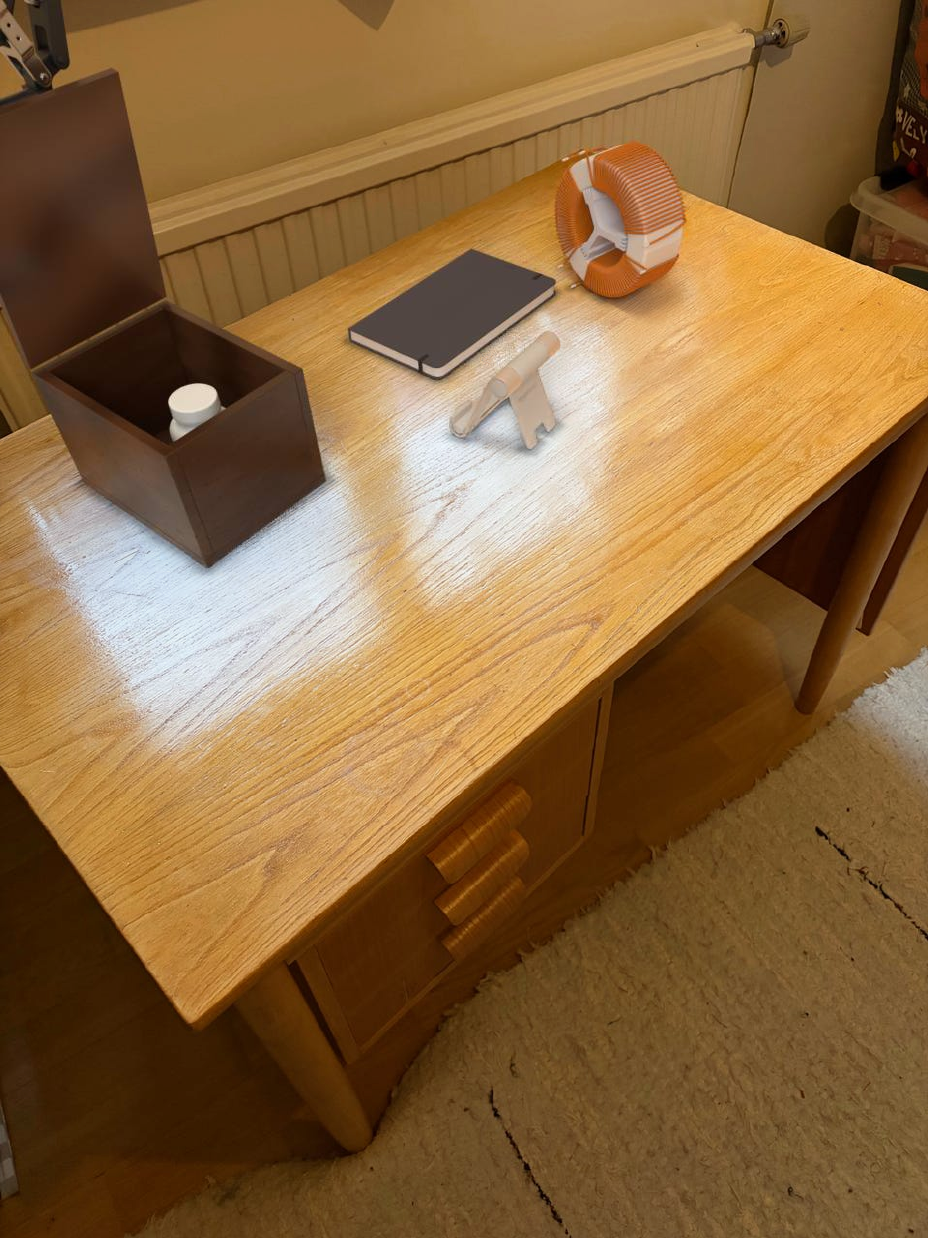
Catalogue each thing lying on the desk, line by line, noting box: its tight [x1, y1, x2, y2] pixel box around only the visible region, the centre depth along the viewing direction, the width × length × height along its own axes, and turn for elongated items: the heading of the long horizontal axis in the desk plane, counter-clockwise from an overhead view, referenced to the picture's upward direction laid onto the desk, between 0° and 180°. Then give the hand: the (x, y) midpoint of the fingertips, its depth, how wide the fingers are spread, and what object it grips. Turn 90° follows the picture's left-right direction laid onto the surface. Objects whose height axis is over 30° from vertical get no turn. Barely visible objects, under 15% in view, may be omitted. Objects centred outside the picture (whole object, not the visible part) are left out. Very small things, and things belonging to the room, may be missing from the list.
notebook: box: [347, 248, 557, 380], centre depth 97 cm, size 13×2×21 cm
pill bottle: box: [169, 384, 226, 442], centre depth 75 cm, size 5×5×10 cm
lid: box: [0, 67, 168, 370], centre depth 68 cm, size 19×14×5 cm
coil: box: [553, 140, 688, 299], centre depth 95 cm, size 7×15×15 cm, turn 37°
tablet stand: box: [449, 330, 561, 450], centre depth 82 cm, size 9×8×8 cm
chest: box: [30, 299, 327, 569], centre depth 76 cm, size 18×14×12 cm
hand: (20, 152), depth 65 cm, fingers closed on lid, 5 cm apart
